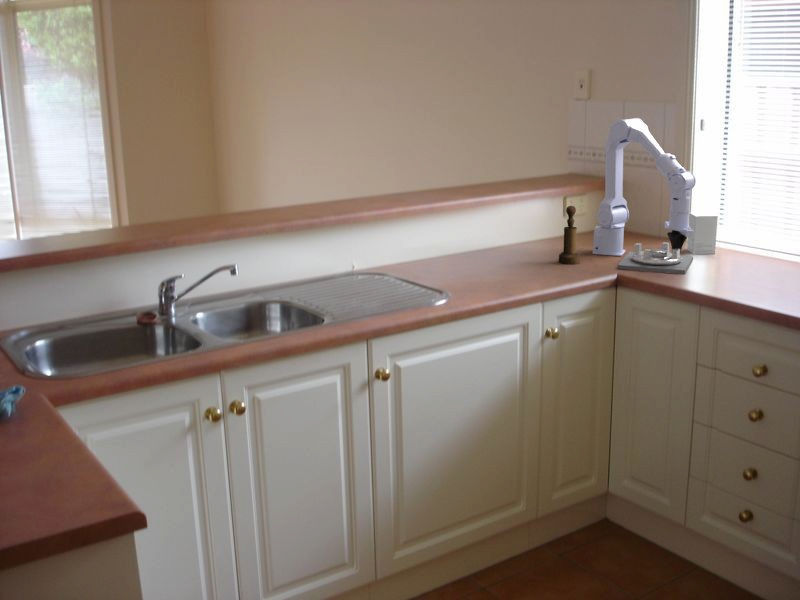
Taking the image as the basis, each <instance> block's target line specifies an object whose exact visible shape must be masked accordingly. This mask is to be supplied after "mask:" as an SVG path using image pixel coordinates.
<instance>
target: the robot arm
mask: <svg viewBox="0 0 800 600" xmlns="http://www.w3.org/2000/svg"><path fill="white" fill-rule="evenodd" d="M629 143H637V144H639V145H640V146H641V147H642V148H643V149H644V150H645V151H646V152H647V153H648V154H649V155H650V156H651V157H652V158H653V159H654V160H655V167H656V169H657V170H658V171H659V172H660V173H661V175H662V176H663V178H665V179H666V180H667V186H668V188H669V191H670V204H669V205H670V206H669V207H670V208H669V218H668V219H669V220H668V221H664V226H663V227H664V229H666V230H671V231H669V232H667V233H666V234H667V236H668V239H669V241H670V242H669V243H670V247H671V250H672V249H674V248H678V249H680V255H682V254H681V253H682V251H683V250H682V249H683V246H684V243H685V242H686V240H687V239H688V237H693V230H691V229H690V227H689V215H690V209H691V208H690V207H691V199H692V198H691V197H692V189H694V188H695V186H696V181H697V180H696V177H695V175H694V174H693V172H692V171H690V170H686V168H685V167H684V166H683V167H682V165H681V164H680V163H679V162H678V161H677V158H676V156H675V155H674V154H671V153H665V152H664V150H663V148H662V147H661V146H660V144H659V143H658V141H656V139H655V138H654V137H653V135H652V134H651V132H650V131H649V126H648V125H647V124H646V123H644V121H643V120H642V119H641V118H639V117H634V118H633V117H632V118H627V119H617V120H615V121H614V122H612V124H611V125H609V133H608V135H607V138H606V141H605V166H604V167H605V170H604V171H605V172H604V173H605V182H604V183H605V187H604V189H605V190H604V191H605V192H604V194H605V196H604V198H603V199H602V201H601V202H600V203H599V209H598V212H597V215H596V218H597V219H596V220H597V222H598V223H599V224H598V225H595V227H594V229H593V230H594V231H593V239H592V242H593V243H592V254H593V255H600V256H601V255H603V256H613V257H614V256H615V257H616V256H617V257H622V256H623V255H624V254H625V253H626V251H627V250H626V249H624V235H625V234H624V231H625V226H626V223H627V222H628V220H629V219H630V212H629V208H628V201H627V200H626V199H625V198H624V196H623V194H624V193H623V192H624V191H623V184H624V183H623V182H624V180H623V179H624V148H625V147H626V146H628V144H629Z"/></svg>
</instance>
